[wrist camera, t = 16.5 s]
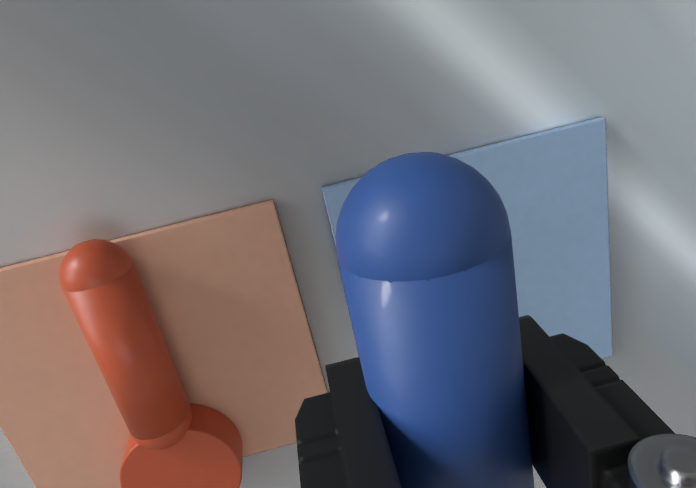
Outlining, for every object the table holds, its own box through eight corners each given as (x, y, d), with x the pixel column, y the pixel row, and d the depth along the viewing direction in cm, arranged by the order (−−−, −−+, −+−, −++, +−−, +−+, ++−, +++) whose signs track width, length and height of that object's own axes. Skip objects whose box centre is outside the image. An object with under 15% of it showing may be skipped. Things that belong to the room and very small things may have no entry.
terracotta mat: (-76, 286, 23) (-81, 291, 22) (273, 199, 23) (273, 201, 23) (51, 503, 28) (49, 510, 27) (337, 425, 28) (338, 431, 28)
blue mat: (321, 187, 24) (322, 189, 23) (600, 116, 24) (606, 118, 24) (376, 415, 28) (378, 420, 28) (608, 351, 29) (612, 356, 29)
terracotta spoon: (26, 246, 22) (-2, 276, 20) (159, 213, 23) (148, 238, 20) (150, 503, 28) (140, 550, 26) (255, 474, 28) (255, 518, 26)
